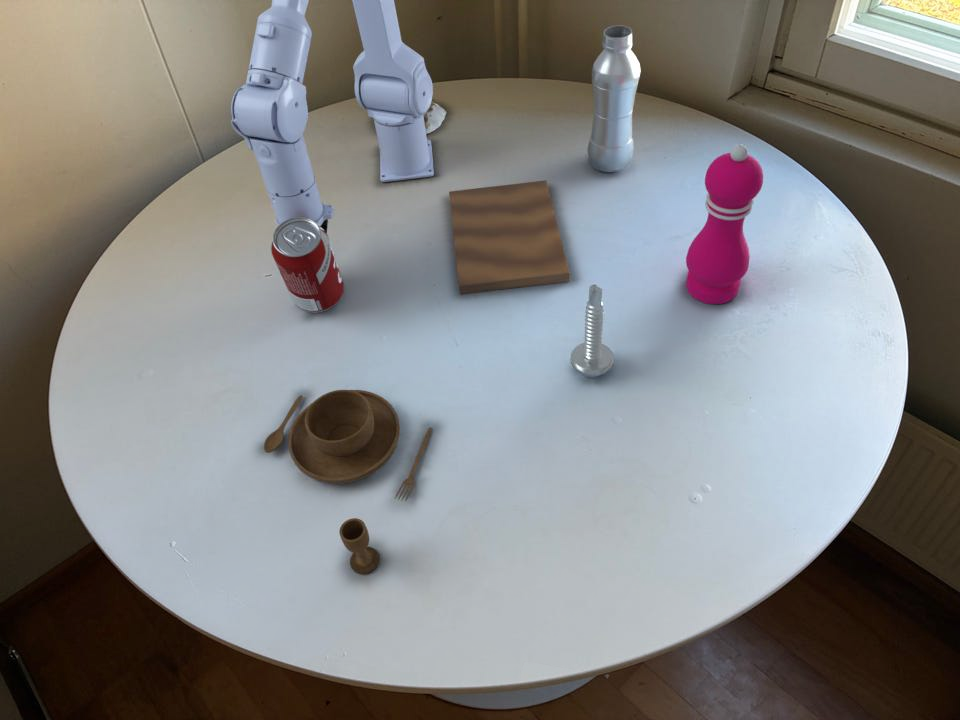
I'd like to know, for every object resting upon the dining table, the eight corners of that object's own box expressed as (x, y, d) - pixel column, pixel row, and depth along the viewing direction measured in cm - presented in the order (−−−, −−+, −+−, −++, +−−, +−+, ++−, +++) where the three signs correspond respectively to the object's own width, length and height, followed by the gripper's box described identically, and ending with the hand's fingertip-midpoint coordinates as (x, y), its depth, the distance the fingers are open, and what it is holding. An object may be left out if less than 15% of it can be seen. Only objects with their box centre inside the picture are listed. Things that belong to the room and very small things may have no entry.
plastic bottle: (578, 161, 114) (582, 29, 99) (617, 147, 116) (626, 15, 101) (601, 183, 110) (608, 48, 95) (641, 168, 112) (654, 34, 97)
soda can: (320, 324, 96) (298, 270, 85) (281, 298, 98) (254, 241, 87) (355, 287, 98) (338, 230, 88) (316, 262, 100) (295, 203, 90)
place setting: (442, 413, 84) (436, 379, 80) (378, 578, 72) (367, 548, 67) (298, 388, 88) (285, 353, 84) (214, 540, 76) (193, 509, 72)
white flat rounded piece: (450, 133, 122) (448, 111, 119) (376, 143, 122) (371, 122, 119) (443, 97, 130) (440, 75, 127) (373, 107, 129) (369, 85, 126)
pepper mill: (743, 310, 91) (778, 167, 76) (680, 305, 93) (704, 163, 78) (741, 270, 96) (775, 128, 81) (682, 265, 97) (705, 125, 82)
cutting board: (450, 200, 110) (448, 191, 109) (546, 188, 110) (546, 180, 109) (459, 294, 97) (458, 285, 96) (569, 281, 97) (569, 272, 96)
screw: (570, 353, 89) (613, 354, 88) (569, 385, 86) (613, 387, 85) (572, 269, 79) (619, 269, 79) (571, 301, 76) (620, 302, 75)
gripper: (321, 216, 85) (346, 304, 95) (327, 144, 94) (349, 231, 105) (257, 223, 85) (289, 311, 95) (270, 151, 94) (298, 237, 105)
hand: (317, 269), depth 100 cm, fingers closed, pressing on soda can
